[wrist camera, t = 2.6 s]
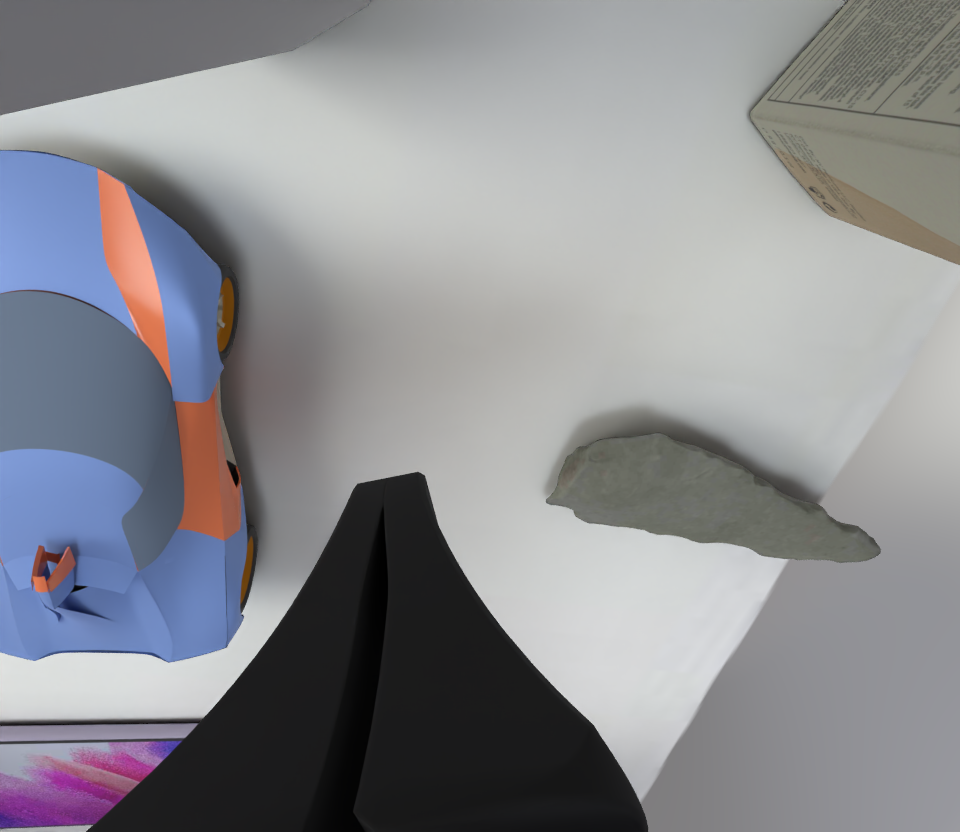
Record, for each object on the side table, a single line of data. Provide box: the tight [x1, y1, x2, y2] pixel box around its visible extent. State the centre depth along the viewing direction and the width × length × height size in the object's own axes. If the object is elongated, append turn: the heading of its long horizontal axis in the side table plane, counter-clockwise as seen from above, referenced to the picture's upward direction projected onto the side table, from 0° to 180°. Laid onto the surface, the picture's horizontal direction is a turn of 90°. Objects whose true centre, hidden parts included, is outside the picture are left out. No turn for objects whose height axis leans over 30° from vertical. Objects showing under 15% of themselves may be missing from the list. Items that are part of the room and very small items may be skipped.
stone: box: [546, 433, 881, 563], centre depth 22 cm, size 13×2×5 cm
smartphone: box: [0, 723, 199, 829], centre depth 27 cm, size 7×1×15 cm
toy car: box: [0, 150, 257, 662], centre depth 16 cm, size 8×15×5 cm, turn 169°
